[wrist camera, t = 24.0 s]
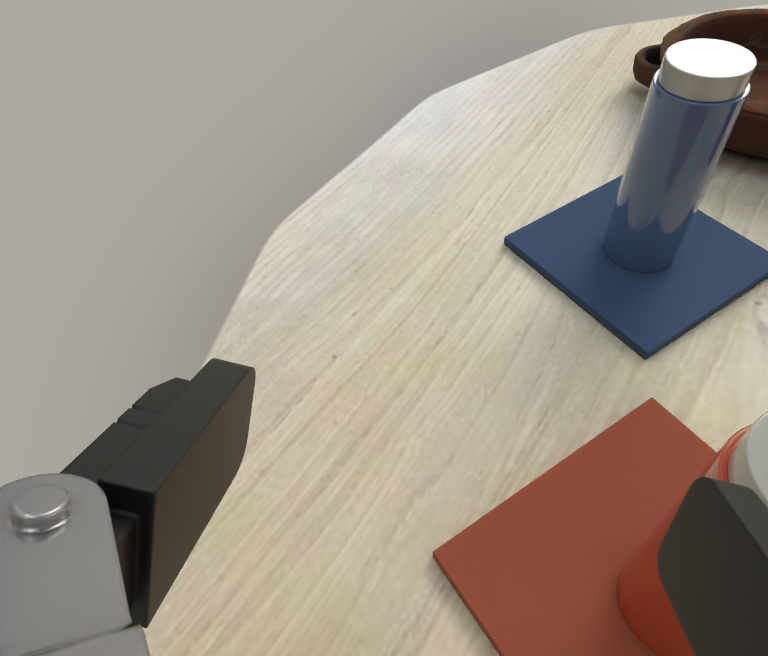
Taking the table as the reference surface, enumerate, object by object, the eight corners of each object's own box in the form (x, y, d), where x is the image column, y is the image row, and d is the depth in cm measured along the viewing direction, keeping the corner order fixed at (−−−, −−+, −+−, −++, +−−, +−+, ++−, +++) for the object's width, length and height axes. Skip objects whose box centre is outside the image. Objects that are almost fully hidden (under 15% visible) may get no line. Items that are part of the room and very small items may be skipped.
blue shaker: (641, 283, 34) (720, 90, 24) (587, 244, 36) (640, 55, 27) (690, 252, 35) (783, 58, 26) (635, 217, 38) (701, 27, 28)
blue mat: (645, 359, 31) (648, 353, 31) (503, 243, 38) (504, 236, 37) (781, 268, 35) (785, 261, 34) (629, 176, 41) (631, 169, 41)
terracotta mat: (696, 941, 17) (702, 946, 17) (432, 556, 25) (432, 551, 25) (942, 658, 21) (953, 655, 21) (648, 402, 29) (652, 396, 29)
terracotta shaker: (636, 667, 21) (792, 577, 12) (603, 550, 24) (708, 402, 15) (753, 660, 21) (1001, 563, 12) (706, 543, 24) (877, 390, 15)
